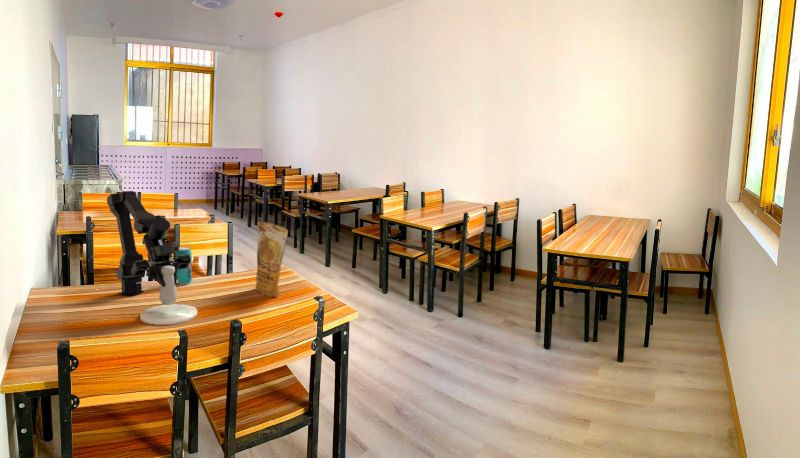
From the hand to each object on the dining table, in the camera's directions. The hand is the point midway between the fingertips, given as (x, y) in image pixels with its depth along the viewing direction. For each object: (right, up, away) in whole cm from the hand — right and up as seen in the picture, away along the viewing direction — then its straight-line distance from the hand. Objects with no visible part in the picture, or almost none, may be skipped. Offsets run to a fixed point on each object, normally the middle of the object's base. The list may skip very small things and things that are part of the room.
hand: (170, 285), depth 178 cm
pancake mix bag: (+25, -7, +35) cm, 43 cm away
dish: (-1, -11, +3) cm, 11 cm away
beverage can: (-12, -4, +41) cm, 43 cm away
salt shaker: (-1, -6, +2) cm, 7 cm away
